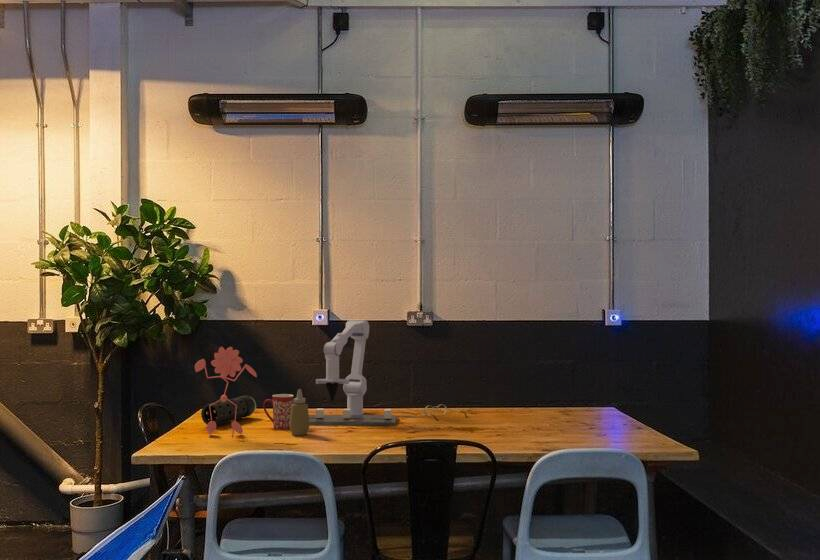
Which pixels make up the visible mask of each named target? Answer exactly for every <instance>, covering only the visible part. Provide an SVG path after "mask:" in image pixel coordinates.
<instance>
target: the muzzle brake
mask: <svg viewBox="0 0 820 560" xmlns="http://www.w3.org/2000/svg"><path fill="white" fill-rule="evenodd" d="M229 400H230V401H231V402H233V403H234V404H236V405H234V404H233V403H231V402H230V401H228V400H227V401H225V402H223V401H221V400H220V401H218V402H216V401H215V402H216V403H215V402H212V403H208V404H205V405H204V406H203V407H202V409H201V413H200V415H201V419H202V421H203V423H204V424H205V425H206V426H207V425H208V423H209V422H211V416H212V422H213V421H214V422H215V423H216V427H217V426H222V425H225V424H227V423H228V424H229V423H230V422H233V421H235V411H236V422H238V421H242V420H243V418H247V417H250V416H252V414H254V412H255V411H256V409H257V404H256V403H257V402H256V400H255V399H254V397H252V396H250V395H241V396H237V397H236V398H230V399H229ZM213 403H215V404H213ZM211 404H213V405H211ZM210 405H211V406H210ZM209 406H210V408H209ZM236 406H237V410H236ZM210 409H211V416H210Z"/></svg>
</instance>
